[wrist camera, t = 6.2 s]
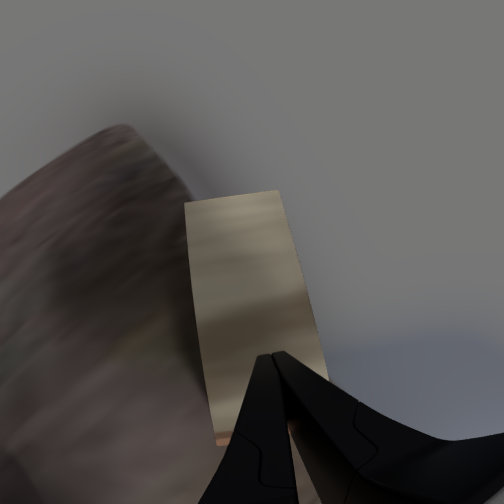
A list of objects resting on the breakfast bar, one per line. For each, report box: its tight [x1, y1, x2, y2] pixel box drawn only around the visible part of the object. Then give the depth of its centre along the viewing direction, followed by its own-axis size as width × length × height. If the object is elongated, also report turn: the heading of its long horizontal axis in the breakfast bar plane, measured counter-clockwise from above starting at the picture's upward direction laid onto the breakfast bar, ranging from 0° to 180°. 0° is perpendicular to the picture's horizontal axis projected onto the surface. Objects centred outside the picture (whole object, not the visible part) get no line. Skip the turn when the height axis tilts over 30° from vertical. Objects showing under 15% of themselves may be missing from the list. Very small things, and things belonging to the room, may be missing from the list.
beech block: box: [184, 190, 329, 446], centre depth 15 cm, size 5×5×12 cm
